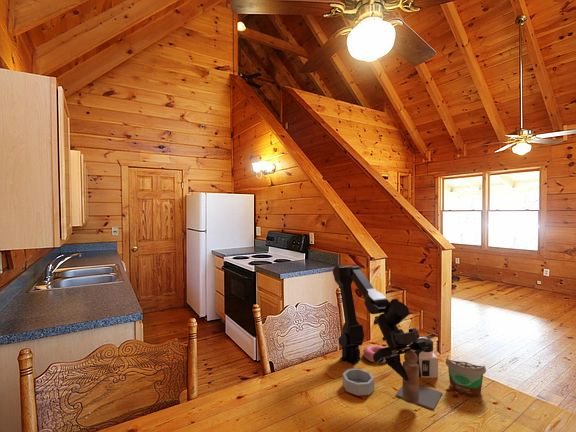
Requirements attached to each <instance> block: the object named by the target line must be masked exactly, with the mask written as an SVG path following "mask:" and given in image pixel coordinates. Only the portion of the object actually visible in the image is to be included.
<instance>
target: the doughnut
mask: <svg viewBox="0 0 576 432" xmlns="http://www.w3.org/2000/svg"><path fill="white" fill-rule="evenodd" d="M381 348H385V347H384V346H382V345H376V344H370V345H366V346H365V347H364V348H363V353H362V354H363V356H364V358H365V359H366V360H367V361H369V362H372V363H375V362H374V359H373V354H374V353H375V352H376V351H378V350H379V349H381ZM385 362H386V360H385V358H384V360H383V362H381V363H380V364H383V363H384V364H385Z"/></svg>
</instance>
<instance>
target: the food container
mask: <svg viewBox="0 0 576 432" xmlns="http://www.w3.org/2000/svg"><path fill="white" fill-rule="evenodd" d="M445 364H446V366H447V370H448V379H449V380H448V381H449V386H450V388H451V390H452V391H453V392H455V393H456V392H457V394H458V393H459V395H461V396H463V395H464V397H468V398H476V397H479V396H480V395H481V393H482V385H483V378H484V375H485V374H486V373H487V368H486V365H483V366H482V365H477V364H473V363H470V362H467V361H459V360H458V361H457V360H451V359H449V357H448V356H447V357H446V359H445Z"/></svg>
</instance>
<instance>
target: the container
mask: <svg viewBox="0 0 576 432" xmlns="http://www.w3.org/2000/svg"><path fill="white" fill-rule="evenodd" d="M419 340H423V341H425V342H426V344H427V346H428V348H426V349H425V350H424V351H422V352H421V353H420V354H419V365H420V370H421V377H420V378H421V379H422V378H425V379H426V378H427V379H430V378H431V379H437V378H439V358H438V356H437V355H436V354H435V353H434V342H433V340H431V339H430V338H428V337H424V336H422V337H421V336H420V337H419V338H417V341H419ZM420 378H419V379H420Z"/></svg>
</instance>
